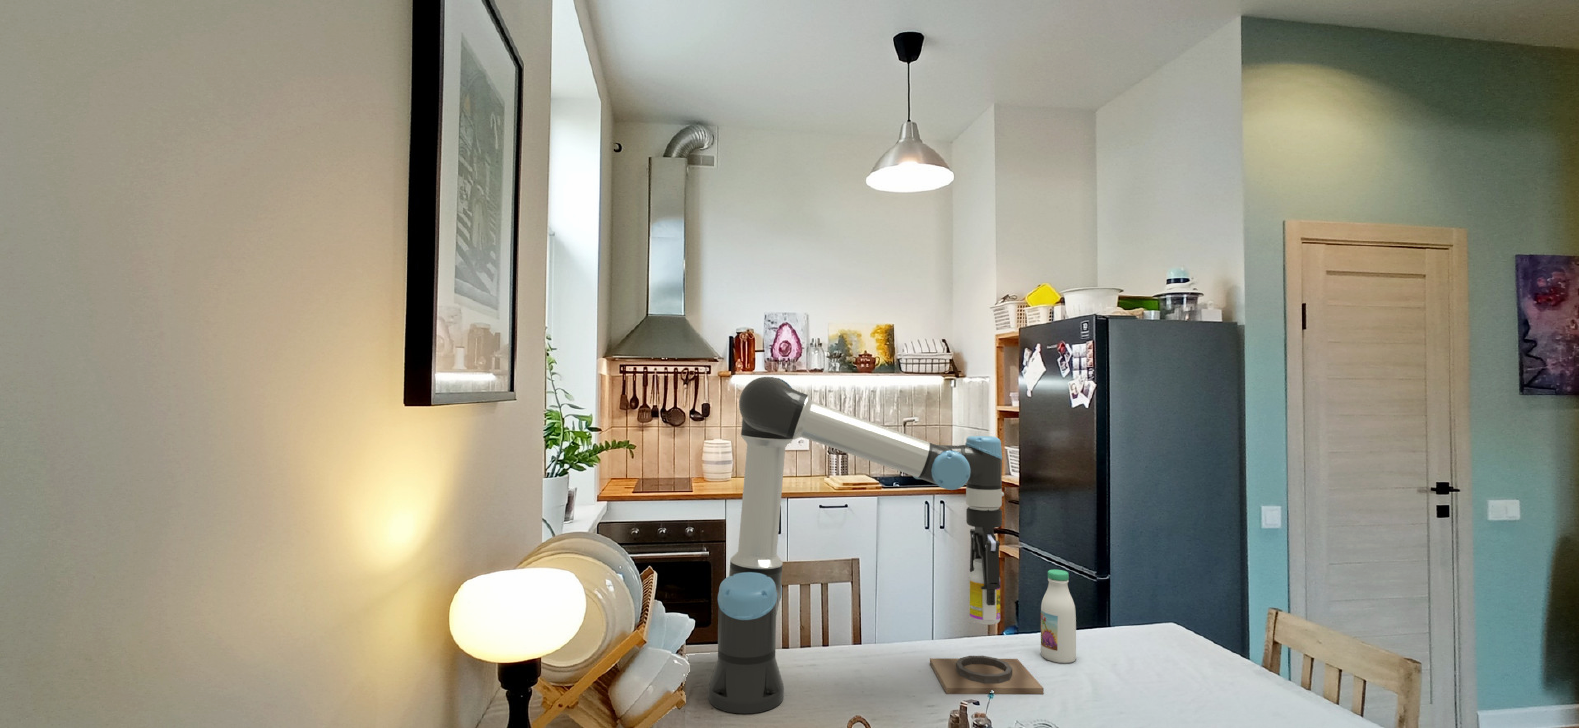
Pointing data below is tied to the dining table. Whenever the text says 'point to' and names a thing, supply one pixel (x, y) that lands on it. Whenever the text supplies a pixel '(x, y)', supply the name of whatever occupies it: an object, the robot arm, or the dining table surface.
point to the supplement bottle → (980, 596)
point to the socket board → (981, 688)
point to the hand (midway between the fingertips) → (984, 613)
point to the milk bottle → (1058, 620)
